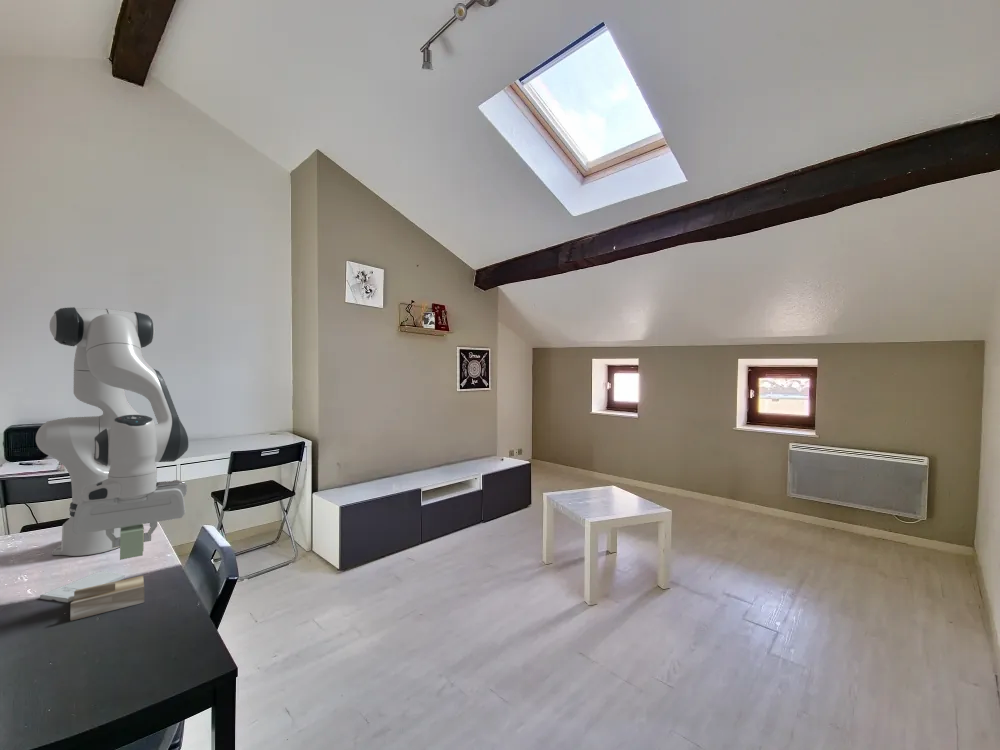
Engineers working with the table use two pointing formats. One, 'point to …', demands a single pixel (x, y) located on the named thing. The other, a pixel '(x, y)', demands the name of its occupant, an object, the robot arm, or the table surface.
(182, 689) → the table surface
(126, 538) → the tea box
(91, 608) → the shelf
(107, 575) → the external hard drive
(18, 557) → the table surface
